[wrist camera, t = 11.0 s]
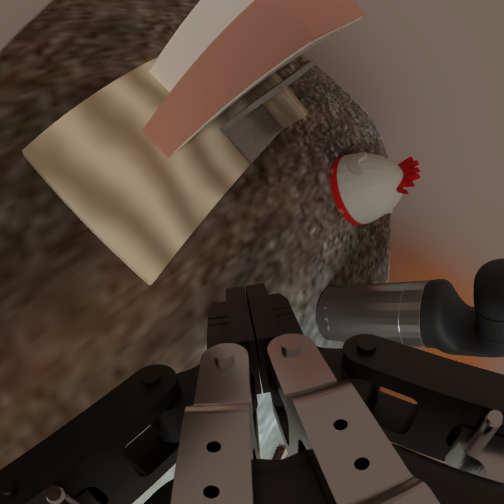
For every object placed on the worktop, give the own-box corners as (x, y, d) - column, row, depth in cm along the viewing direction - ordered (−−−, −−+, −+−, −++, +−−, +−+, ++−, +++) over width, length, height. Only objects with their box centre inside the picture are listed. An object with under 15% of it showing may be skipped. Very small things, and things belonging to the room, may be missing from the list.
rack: (148, 284, 30) (168, 284, 25) (22, 154, 22) (18, 127, 17) (281, 127, 45) (308, 113, 40) (202, 39, 37) (223, 16, 32)
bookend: (249, 163, 39) (317, 129, 29) (219, 128, 36) (281, 82, 27) (281, 129, 43) (341, 97, 34) (256, 98, 41) (313, 59, 31)
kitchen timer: (372, 186, 61) (432, 171, 49) (363, 238, 56) (432, 227, 44) (336, 143, 54) (401, 119, 42) (323, 196, 49) (400, 174, 37)
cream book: (174, 96, 32) (273, -5, 17) (149, 71, 30) (235, -39, 15) (226, 65, 38) (318, -9, 23) (205, 43, 36) (290, -36, 21)
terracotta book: (168, 159, 31) (316, 40, 14) (141, 130, 30) (268, -12, 12) (247, 93, 40) (366, 15, 23) (227, 71, 38) (340, -15, 21)
